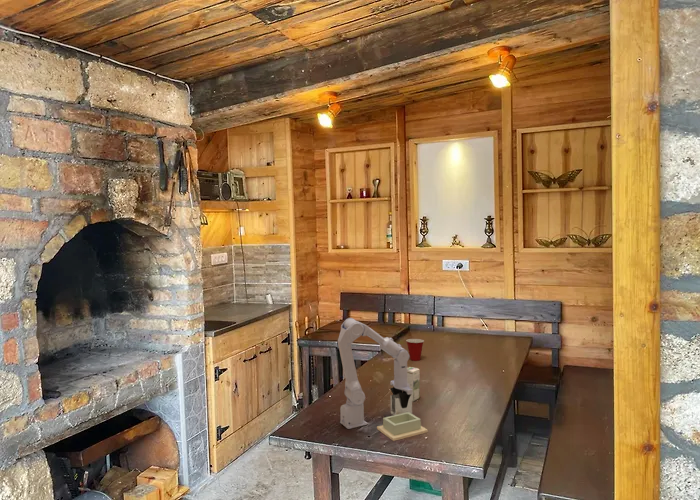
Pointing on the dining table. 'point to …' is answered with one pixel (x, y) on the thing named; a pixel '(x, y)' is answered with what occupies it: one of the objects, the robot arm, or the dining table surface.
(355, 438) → the dining table surface
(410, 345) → the plastic cup
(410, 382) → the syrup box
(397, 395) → the bracket
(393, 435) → the well
